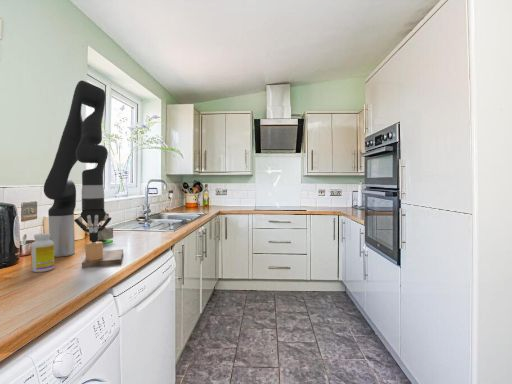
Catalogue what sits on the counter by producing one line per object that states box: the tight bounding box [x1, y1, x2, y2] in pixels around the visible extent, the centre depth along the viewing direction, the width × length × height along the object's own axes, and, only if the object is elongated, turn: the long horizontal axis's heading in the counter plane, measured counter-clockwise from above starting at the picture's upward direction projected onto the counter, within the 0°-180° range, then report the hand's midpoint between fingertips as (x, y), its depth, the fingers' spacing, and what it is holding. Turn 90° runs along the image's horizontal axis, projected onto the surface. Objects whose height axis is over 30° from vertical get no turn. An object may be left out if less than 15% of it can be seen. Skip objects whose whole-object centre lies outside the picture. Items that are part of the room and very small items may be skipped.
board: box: [81, 248, 124, 269], centre depth 118 cm, size 13×18×2 cm
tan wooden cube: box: [84, 241, 104, 261], centre depth 113 cm, size 6×6×6 cm
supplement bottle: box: [30, 232, 56, 273], centre depth 106 cm, size 7×7×13 cm
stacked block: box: [93, 212, 114, 245], centre depth 154 cm, size 12×13×15 cm
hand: (94, 242), depth 113 cm, fingers closed
